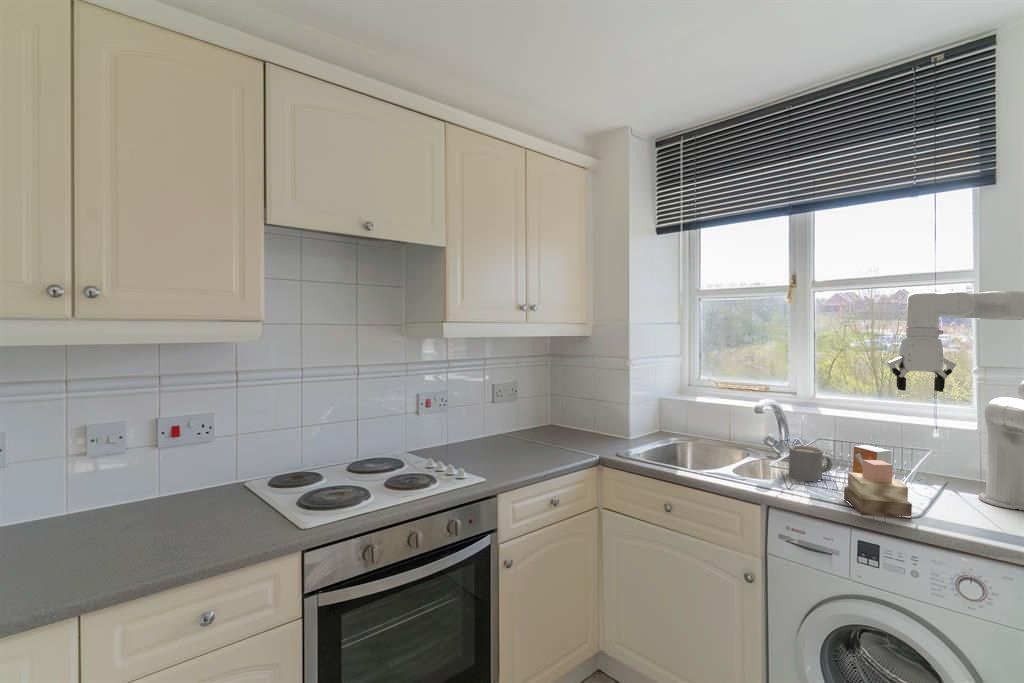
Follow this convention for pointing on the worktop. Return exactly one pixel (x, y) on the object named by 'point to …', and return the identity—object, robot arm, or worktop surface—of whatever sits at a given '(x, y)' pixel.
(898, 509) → the tower base block
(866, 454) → the small box
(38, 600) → the worktop surface
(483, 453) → the worktop surface
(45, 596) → the worktop surface
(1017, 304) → the robot arm
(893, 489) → the tower top block
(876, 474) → the terracotta cube
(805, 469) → the coffee mug
